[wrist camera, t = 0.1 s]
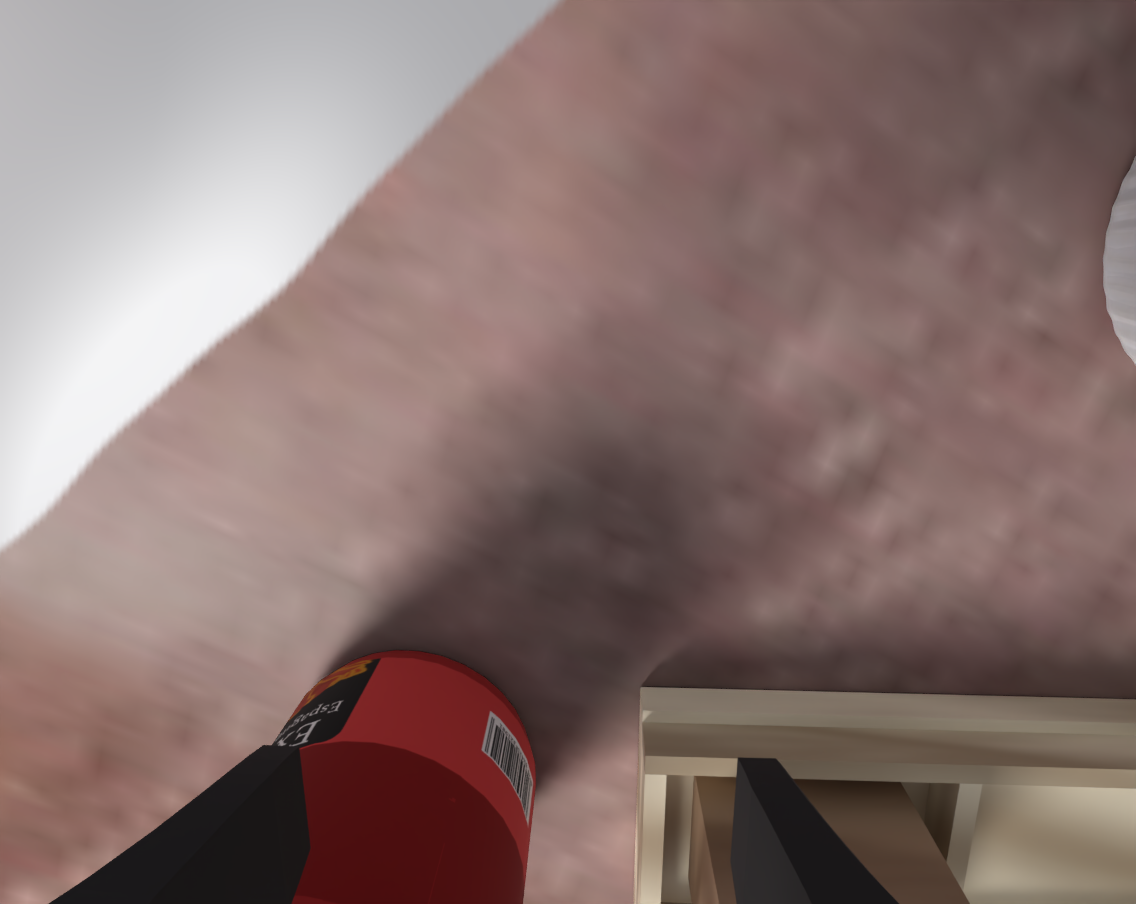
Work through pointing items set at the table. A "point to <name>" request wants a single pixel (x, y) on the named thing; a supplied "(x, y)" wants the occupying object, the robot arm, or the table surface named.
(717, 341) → the table surface
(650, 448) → the table surface
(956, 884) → the seated walnut billet
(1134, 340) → the ramekin
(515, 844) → the canned food
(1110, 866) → the wooden divided tray
